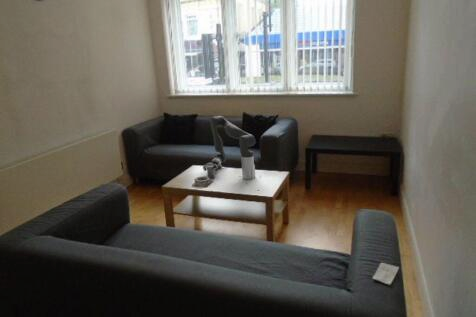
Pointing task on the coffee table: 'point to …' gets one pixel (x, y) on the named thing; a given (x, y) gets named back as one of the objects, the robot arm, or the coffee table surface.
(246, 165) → the robot arm
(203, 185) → the mount
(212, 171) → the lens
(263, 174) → the coffee table surface
